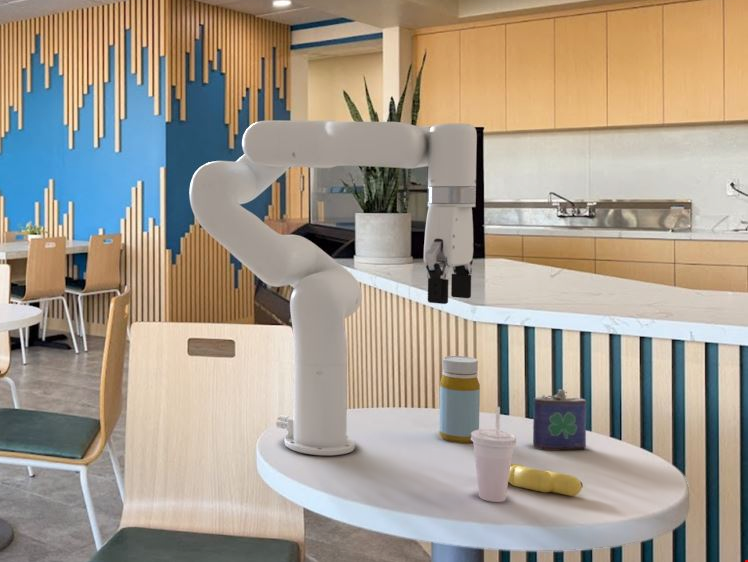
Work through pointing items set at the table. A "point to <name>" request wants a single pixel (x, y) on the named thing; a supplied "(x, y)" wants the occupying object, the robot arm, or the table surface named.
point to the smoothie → (493, 460)
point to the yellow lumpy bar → (544, 480)
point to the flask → (559, 422)
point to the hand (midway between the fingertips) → (449, 300)
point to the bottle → (459, 399)
